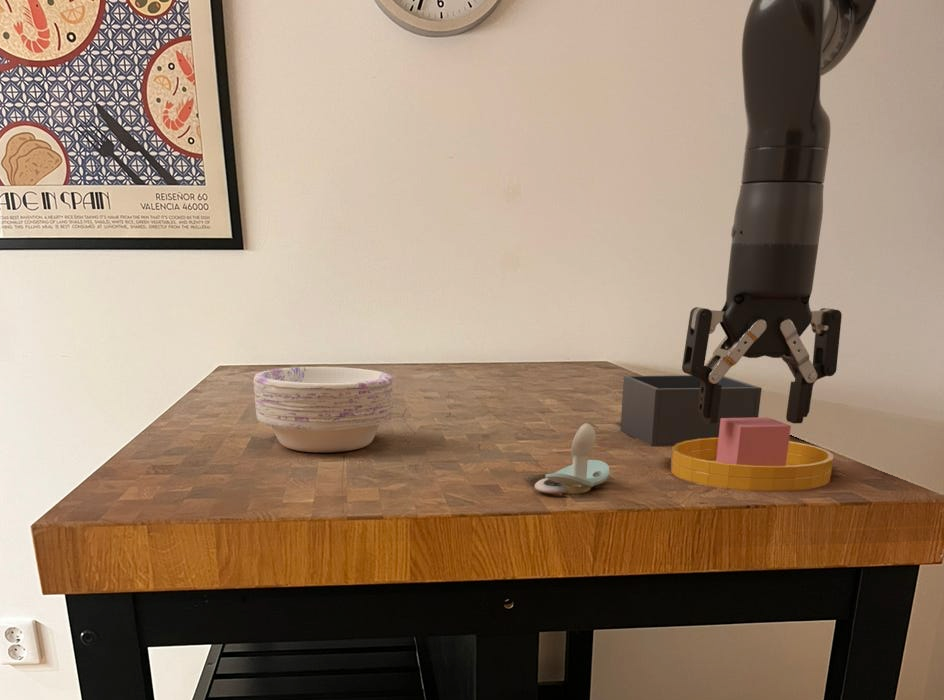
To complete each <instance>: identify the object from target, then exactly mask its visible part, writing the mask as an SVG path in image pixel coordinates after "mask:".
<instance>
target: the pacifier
mask: <svg viewBox="0 0 944 700" xmlns="http://www.w3.org/2000/svg"><path fill="white" fill-rule="evenodd" d="M595 443H596V432H595V429H594V427H593V426H592V425H591V424H590V423H587V422H586V423H583V424H582V425H580V426H579V428H578V429H577V431H576V433H575V435H574V438H573V440H572V443H571V448H570V456H571V458H572V464H569V465H567V466H565V467H563V468H561V469H559V470H556V471H555V472H552V473H546V474H544V475H545V477H544V478H542V479H540V480H538V481H537V482H536V483H534V488H535V490H536V491H538V492H540V493H544V494H562V495H564V494H570V495H571V494H572V495H573V494H575V495H576V494H583V493H586V492H589V491H591V489H592V488H593V487H594V486H598V485H600V484H603V483H604V482H606V481H607V480H608V478H609V476H610V472H611V471H610V466H609V465H608V464H607V462H605V461H603V460H599V459H589V454H590V453H591V452H592V450H593V449H594V446H595ZM588 459H589V460H588ZM554 484H559V485H556V486H554Z"/></svg>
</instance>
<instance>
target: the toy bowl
mask: <svg viewBox="0 0 944 700" xmlns="http://www.w3.org/2000/svg"><path fill="white" fill-rule="evenodd" d="M718 439H719V437H714V438H701V439H693V440H687V441H683V442H680V443H677V444H675V445H674V446H671V447H672V450H671V459H670V472H671V474H672V475H674V476H675V477H677V478H678V479H681V480H683V481H686V482H690V483H693V484H697V485H700V486H701V485H702V486H707V487H712V488H719V489H726V490H735V491H746V492H795V491H805V490H812V489H817V488H820V487H823V486H826V485H827V484H829V483H830V481H831V479H832V472H833V464H834V458H835V455H834V454H833V453H832V452H831V451H829V450H827V449H824V448H822V447H820V446H816V445H812V444H808V443H802V442H796V441H791V440H789V444H788V452H787V459H786V466H756V465H741V464H730V463H722V462H716V458H717V448H718Z"/></svg>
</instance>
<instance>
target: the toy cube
mask: <svg viewBox="0 0 944 700" xmlns="http://www.w3.org/2000/svg"><path fill="white" fill-rule="evenodd" d="M791 426H792V425H790V424H787V423H785V422H782V421H779V420H777V419H774V418H771V417H769V416H766V417H764V416H763V417H762V416H761V417H760V416H758V418H721V419H720V429H719V439H718V448H717V458H716V462H722V463H730V464H741V465H756V466H786V459H787V452H788V444H789V441H790V436H791V428H792V427H791Z"/></svg>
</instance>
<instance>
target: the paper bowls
mask: <svg viewBox="0 0 944 700" xmlns="http://www.w3.org/2000/svg"><path fill="white" fill-rule="evenodd" d="M252 383H253V391H254V392H253V393H254V403H255V404H254V405H255V416H256V420H257V421H258V422H259V423H261V424H264V425H267V426H269V427H271V428H272V430H273V432H274V434H275V436H276V438H277V440H278V442H279V444H281V445H282V446H283V447H286V448H287V449H290V450H293V451H298V452H306V453H322V454H323V453H324V454H325V453H326V454H327V453H342V452H351V451H355V450H359V449H362V448H366V447H367V446H368V445H370V444H371V443H372V442H373V441H374V439H375V436H376V434H377V432H378V429H379V426H380V425H381V424H385V423H389V422H390V421H391V420H392V419H393V417H394V416H393V414H394V388H393V387H394V385H393V383H394V379H393V376H392V375H390V374H389V373H386V372H383V371H379V370H373V369H367V368H357V367H356V368H354V367H341V366H340V367H339V366H300V367H298V366H296V367H284V368H275V369H269V370H265V371H261V372H258V373H256V374H255V375H254V376H253V382H252Z"/></svg>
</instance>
